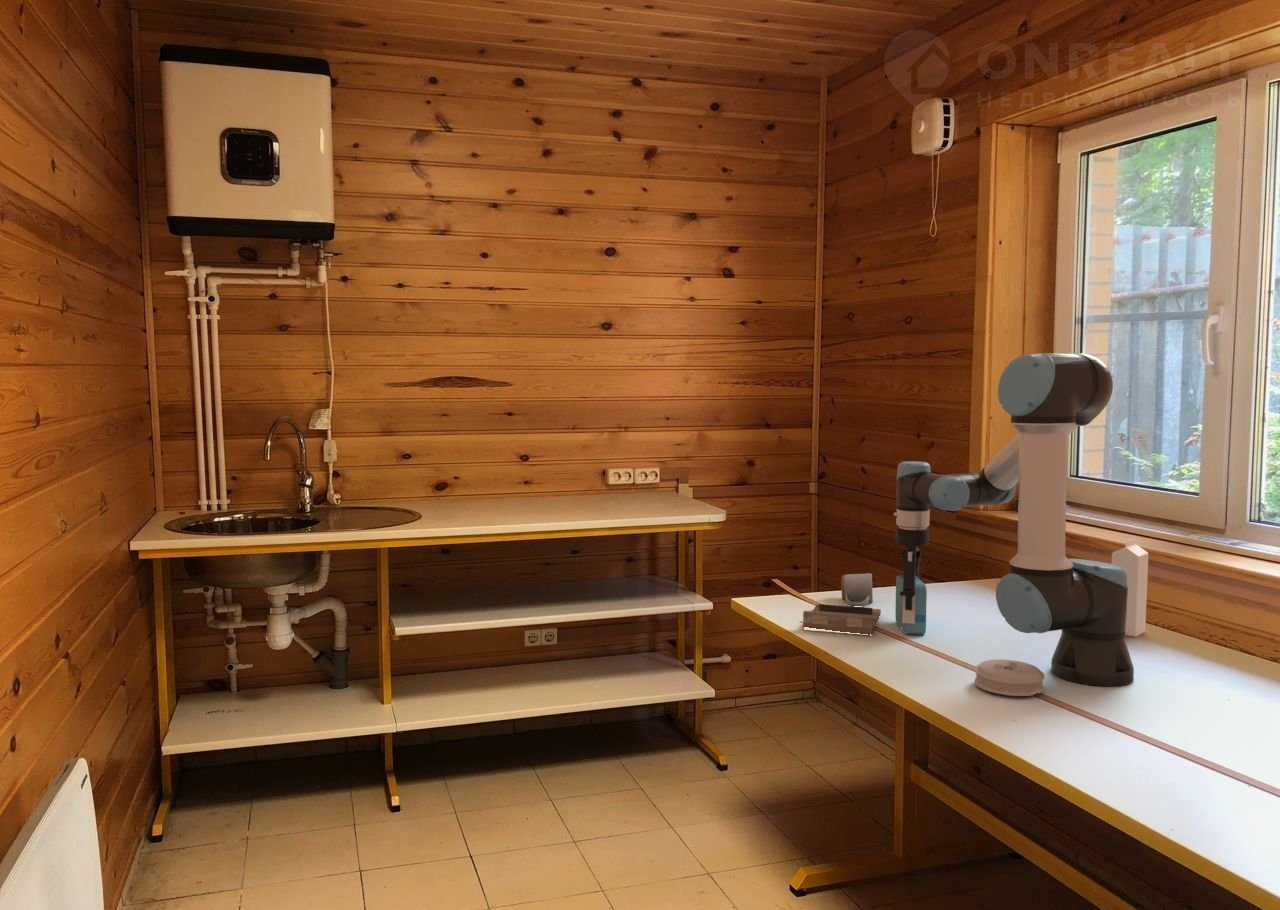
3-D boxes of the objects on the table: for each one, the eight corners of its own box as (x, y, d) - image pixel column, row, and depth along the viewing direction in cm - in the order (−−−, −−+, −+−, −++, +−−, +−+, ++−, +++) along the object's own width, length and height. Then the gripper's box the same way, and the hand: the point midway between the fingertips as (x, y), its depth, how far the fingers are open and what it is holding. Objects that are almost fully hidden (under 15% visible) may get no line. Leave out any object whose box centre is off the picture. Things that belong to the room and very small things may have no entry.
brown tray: (871, 636, 223) (872, 617, 222) (802, 630, 228) (803, 612, 227) (880, 615, 242) (880, 597, 241) (816, 610, 247) (817, 592, 247)
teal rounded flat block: (926, 636, 223) (927, 585, 222) (906, 636, 223) (907, 585, 222) (913, 622, 235) (914, 574, 234) (895, 622, 235) (895, 574, 234)
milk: (1145, 632, 225) (1150, 539, 222) (1135, 637, 221) (1140, 542, 218) (1118, 627, 229) (1122, 535, 227) (1107, 632, 225) (1112, 539, 223)
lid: (960, 683, 191) (961, 659, 190) (1011, 675, 195) (1012, 651, 195) (1005, 704, 179) (1006, 678, 178) (1058, 695, 183) (1059, 670, 183)
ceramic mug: (841, 597, 260) (841, 569, 259) (872, 598, 258) (872, 570, 257) (841, 607, 250) (841, 579, 249) (873, 609, 248) (873, 580, 247)
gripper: (900, 518, 239) (898, 601, 241) (891, 535, 216) (889, 628, 218) (931, 519, 237) (929, 604, 239) (926, 537, 213) (924, 630, 216)
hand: (910, 615), depth 228 cm, fingers closed on teal rounded flat block, 13 cm apart
